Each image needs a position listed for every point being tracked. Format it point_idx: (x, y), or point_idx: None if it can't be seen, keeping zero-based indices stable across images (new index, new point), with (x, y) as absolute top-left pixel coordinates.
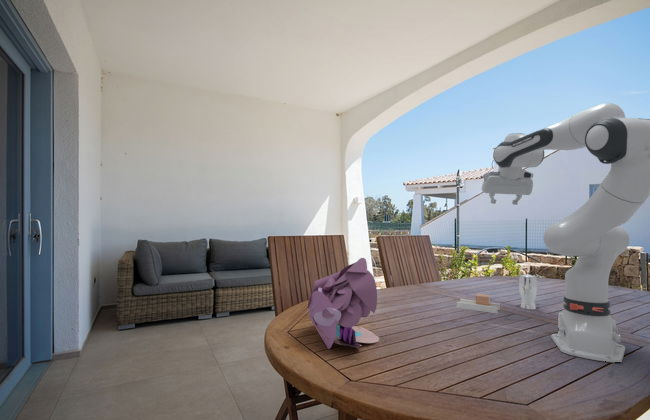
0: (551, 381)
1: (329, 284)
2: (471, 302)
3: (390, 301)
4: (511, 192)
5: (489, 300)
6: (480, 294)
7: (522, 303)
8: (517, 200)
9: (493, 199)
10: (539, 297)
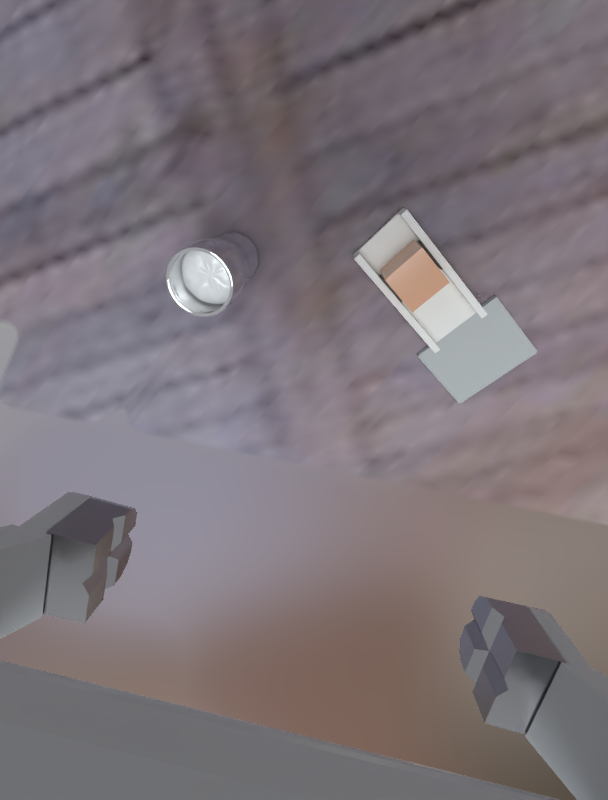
0: None
1: None
2: (416, 320)
3: (600, 444)
4: (162, 771)
5: (398, 263)
6: (415, 295)
7: (251, 264)
8: (31, 535)
9: (591, 674)
10: (85, 389)
